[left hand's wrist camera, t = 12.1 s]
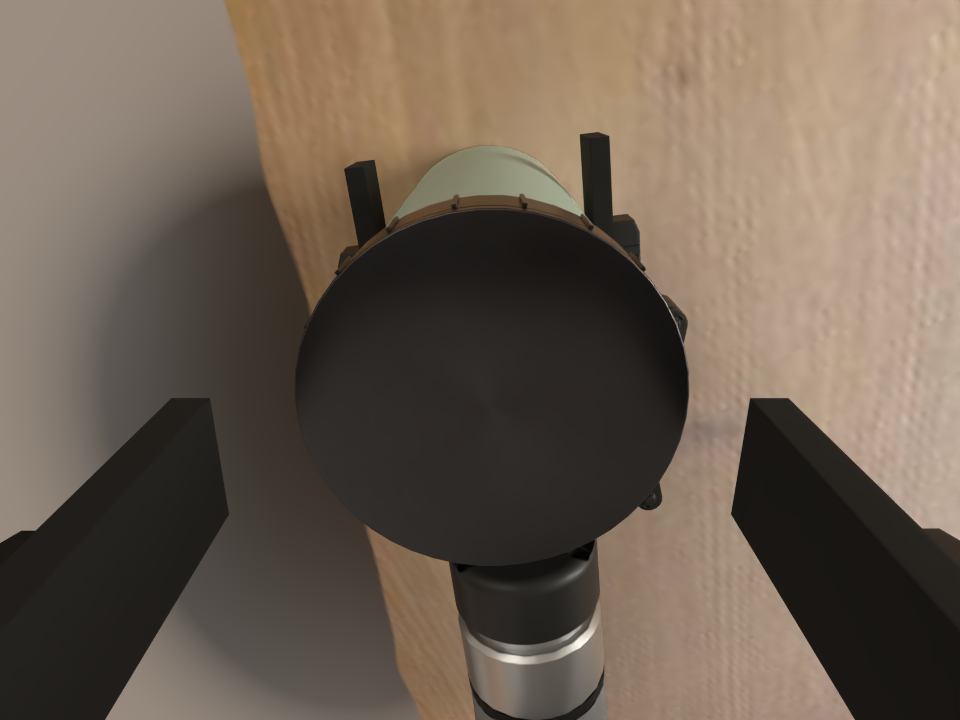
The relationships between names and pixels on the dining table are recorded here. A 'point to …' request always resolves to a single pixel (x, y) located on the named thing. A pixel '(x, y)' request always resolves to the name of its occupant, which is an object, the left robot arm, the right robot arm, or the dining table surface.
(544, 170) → the jar
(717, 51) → the dining table surface
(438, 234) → the lid
